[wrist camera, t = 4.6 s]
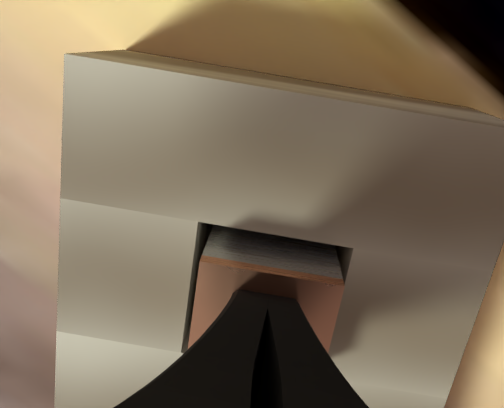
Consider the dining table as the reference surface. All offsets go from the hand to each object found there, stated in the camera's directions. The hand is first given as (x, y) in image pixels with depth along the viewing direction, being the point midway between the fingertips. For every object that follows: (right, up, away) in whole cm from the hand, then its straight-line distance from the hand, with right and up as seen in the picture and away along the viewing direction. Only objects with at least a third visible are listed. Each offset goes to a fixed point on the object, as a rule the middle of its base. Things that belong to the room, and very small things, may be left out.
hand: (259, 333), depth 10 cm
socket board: (0, -2, +6) cm, 7 cm away
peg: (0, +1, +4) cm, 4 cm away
